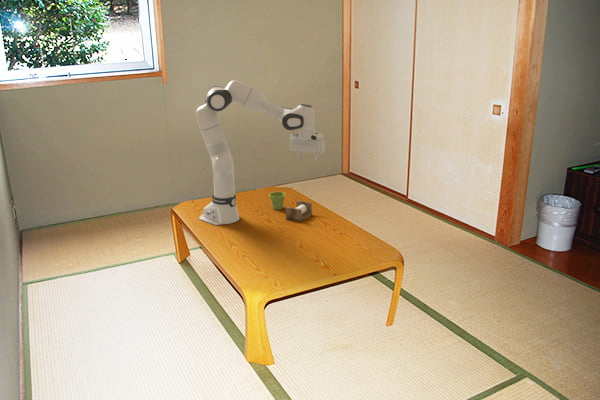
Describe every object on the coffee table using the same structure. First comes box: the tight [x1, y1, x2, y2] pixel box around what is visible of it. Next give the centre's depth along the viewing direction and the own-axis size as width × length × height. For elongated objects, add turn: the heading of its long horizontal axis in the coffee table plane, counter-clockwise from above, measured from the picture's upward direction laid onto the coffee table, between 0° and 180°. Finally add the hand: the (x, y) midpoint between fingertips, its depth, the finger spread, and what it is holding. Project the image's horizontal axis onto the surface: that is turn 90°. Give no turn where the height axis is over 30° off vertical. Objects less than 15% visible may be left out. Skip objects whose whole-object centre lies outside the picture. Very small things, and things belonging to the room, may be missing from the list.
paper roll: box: [295, 204, 307, 215], centre depth 291 cm, size 8×5×5 cm, turn 151°
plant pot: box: [268, 191, 286, 211], centre depth 306 cm, size 9×9×9 cm
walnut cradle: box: [285, 200, 313, 223], centre depth 292 cm, size 9×13×7 cm
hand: (307, 159), depth 287 cm, fingers open, 8 cm apart
